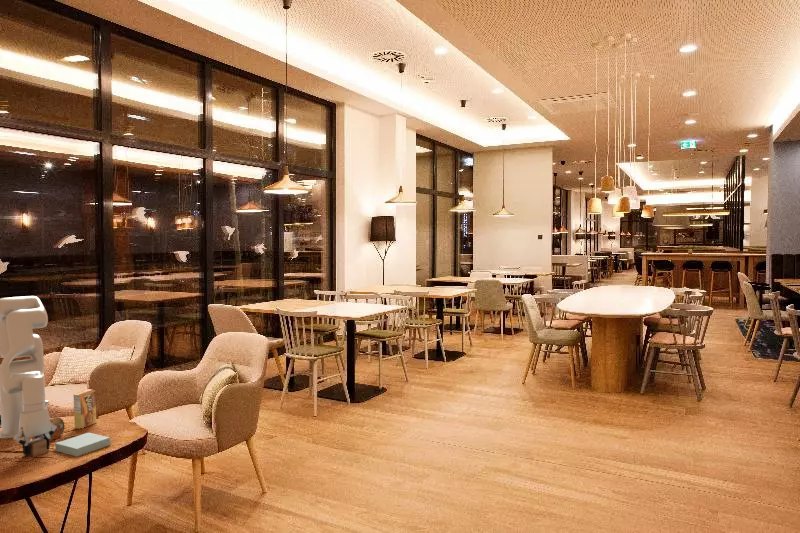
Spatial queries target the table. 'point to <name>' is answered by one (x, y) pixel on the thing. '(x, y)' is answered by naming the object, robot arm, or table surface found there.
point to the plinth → (82, 444)
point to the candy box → (84, 408)
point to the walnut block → (37, 447)
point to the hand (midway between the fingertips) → (36, 451)
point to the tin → (58, 430)
